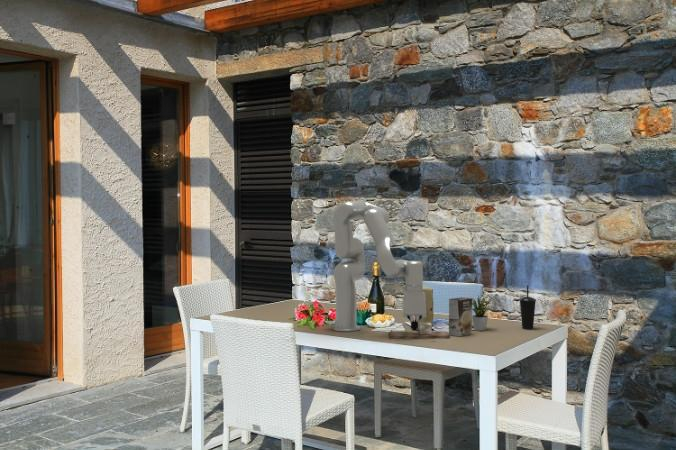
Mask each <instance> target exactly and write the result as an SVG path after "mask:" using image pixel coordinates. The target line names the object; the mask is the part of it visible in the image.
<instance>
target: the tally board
mask: <svg viewBox="0 0 676 450" xmlns="http://www.w3.org/2000/svg"><path fill="white" fill-rule="evenodd" d="M388 337H389V339H391V340H392V339H393V340H394V339H395V340H398V339H399V340H400V339H401V340H403V339H405V340H406V339H410V340H412V339H451V335H449V331H446V330H445V331H444V330H443V331H442V330H441V331H432V334H420V333H419V331H388Z"/></svg>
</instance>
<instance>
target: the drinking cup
mask: <svg viewBox="0 0 676 450" xmlns="http://www.w3.org/2000/svg"><path fill="white" fill-rule="evenodd" d="M518 300H519V305H520V316H521V328H522V329H523V330H533V329H534V324H535V323H534V321H535V312H536V311H535V310H536V302H537V299H536V298H534V297H532V296H529V285H526V296H523V297H521V298H519V299H518Z"/></svg>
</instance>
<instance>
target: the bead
mask: <svg viewBox="0 0 676 450" xmlns="http://www.w3.org/2000/svg"><path fill="white" fill-rule="evenodd" d="M432 329H433V328H432V325H431V323H419V328H418V332H419V333H420V334H432Z"/></svg>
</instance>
